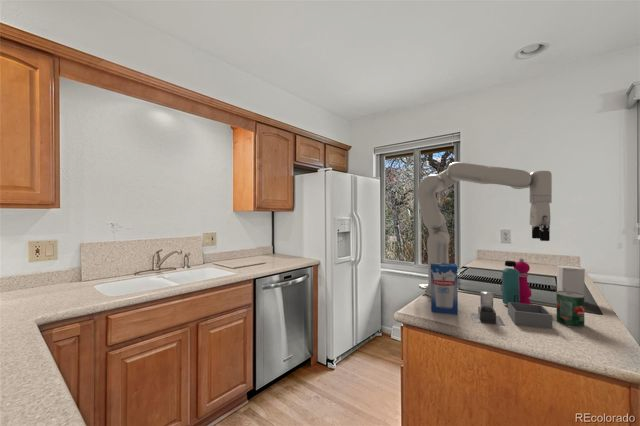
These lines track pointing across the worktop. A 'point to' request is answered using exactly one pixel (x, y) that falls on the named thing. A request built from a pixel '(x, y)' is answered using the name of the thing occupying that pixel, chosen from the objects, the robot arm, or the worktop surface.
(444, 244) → the robot arm
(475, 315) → the stud plate
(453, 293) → the milk carton
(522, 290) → the pepper mill
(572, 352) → the worktop surface
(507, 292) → the beverage bottle
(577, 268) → the skincare box
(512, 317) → the bin
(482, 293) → the silver rounded piece
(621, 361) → the worktop surface
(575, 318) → the canned tomato
